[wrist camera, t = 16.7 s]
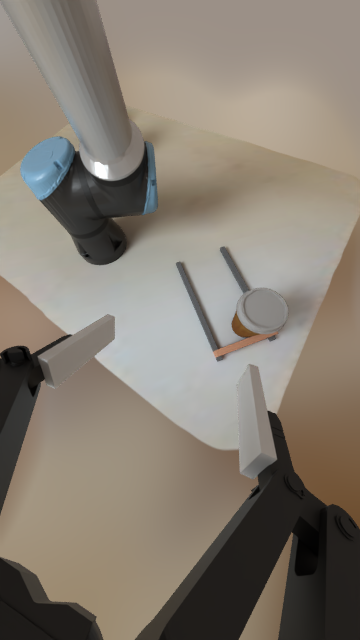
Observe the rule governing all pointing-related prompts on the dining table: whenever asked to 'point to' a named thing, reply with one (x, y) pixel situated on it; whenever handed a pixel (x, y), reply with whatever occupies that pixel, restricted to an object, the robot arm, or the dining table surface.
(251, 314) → the disposable coffee cup
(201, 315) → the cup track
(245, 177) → the dining table surface
